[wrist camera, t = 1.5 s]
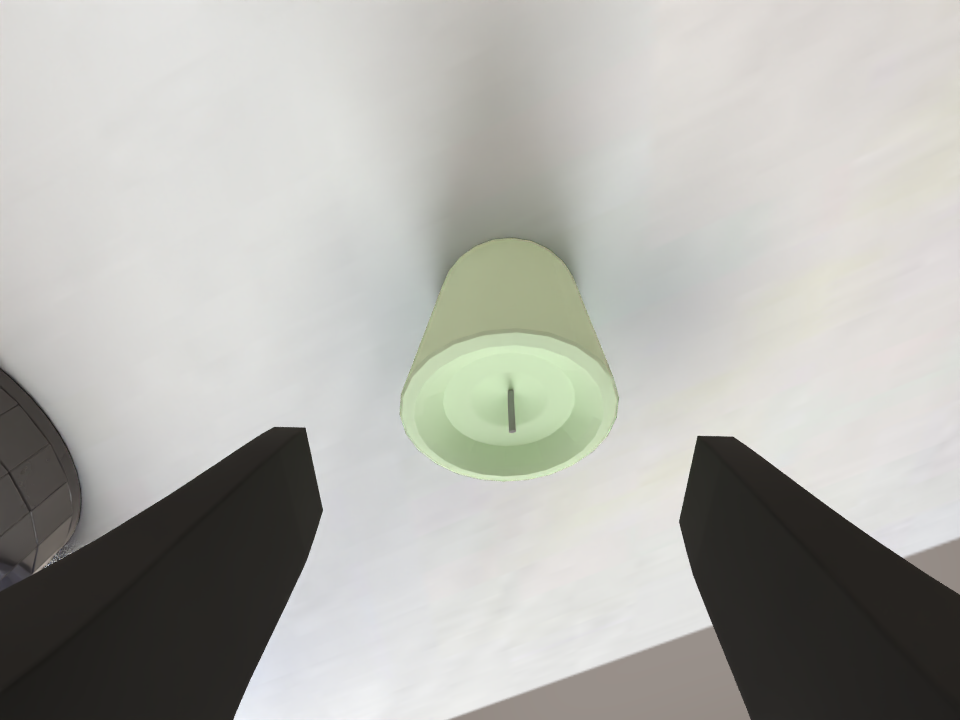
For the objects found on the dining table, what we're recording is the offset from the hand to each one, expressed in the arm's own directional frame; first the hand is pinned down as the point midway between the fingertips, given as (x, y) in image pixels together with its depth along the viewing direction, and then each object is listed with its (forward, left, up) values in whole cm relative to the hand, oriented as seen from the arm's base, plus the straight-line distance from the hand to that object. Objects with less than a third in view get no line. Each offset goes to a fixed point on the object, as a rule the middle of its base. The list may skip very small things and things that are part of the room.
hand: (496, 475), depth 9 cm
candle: (0, 0, -10) cm, 10 cm away
